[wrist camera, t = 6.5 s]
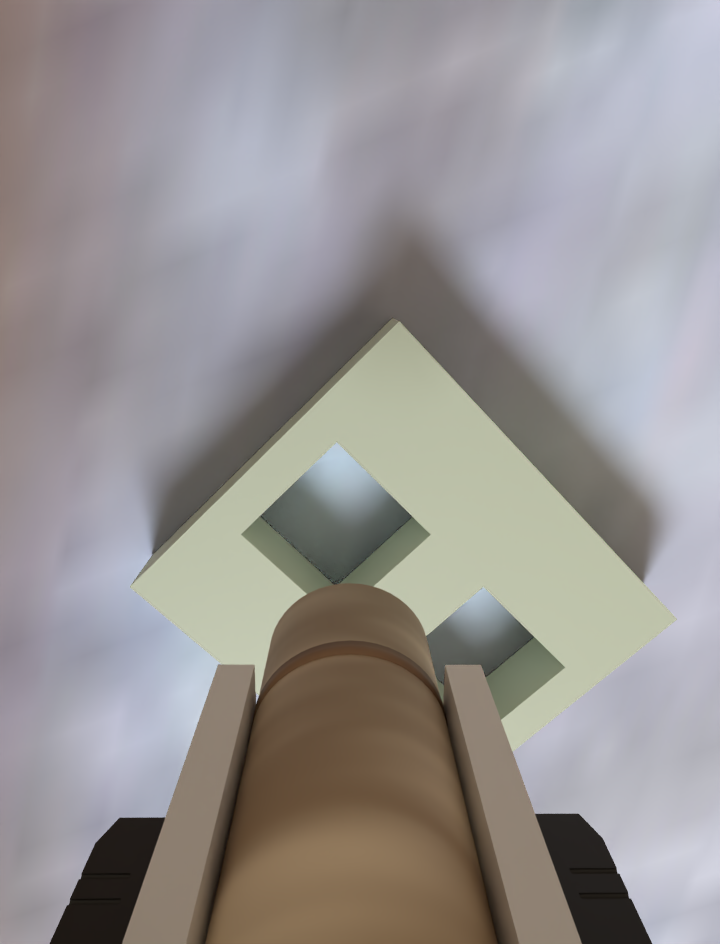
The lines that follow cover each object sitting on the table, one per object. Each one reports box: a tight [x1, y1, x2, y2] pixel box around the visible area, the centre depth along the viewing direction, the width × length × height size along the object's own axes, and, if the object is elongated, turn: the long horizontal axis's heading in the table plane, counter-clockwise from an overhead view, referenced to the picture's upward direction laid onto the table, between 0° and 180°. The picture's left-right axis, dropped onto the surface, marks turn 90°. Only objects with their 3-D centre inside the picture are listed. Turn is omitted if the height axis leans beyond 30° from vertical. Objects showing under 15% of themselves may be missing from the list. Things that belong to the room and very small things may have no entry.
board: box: [130, 318, 677, 752], centre depth 27 cm, size 16×14×3 cm
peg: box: [205, 583, 498, 944], centre depth 9 cm, size 4×4×15 cm
